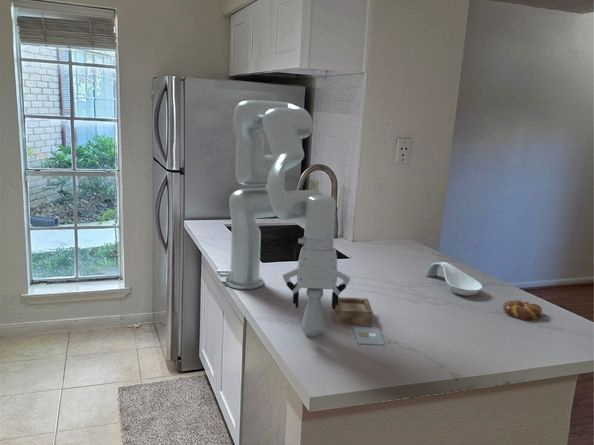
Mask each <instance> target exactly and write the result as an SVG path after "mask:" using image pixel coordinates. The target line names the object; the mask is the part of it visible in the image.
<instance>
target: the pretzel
mask: <svg viewBox="0 0 594 445" xmlns="http://www.w3.org/2000/svg"><path fill="white" fill-rule="evenodd" d="M502 309H503V312H504V313H505V314H506V315H507V316H508V317H512V318H515V317H516V318H517V319H519V320H522V321H532V320H536V319H540V318H542V314H543V308H542V307H541V306H540V305H539V304H537V303H530V302H528V301H522V300H517V299H516V300H507V301H506V302H504V303H503V306H502ZM516 318H515V319H516Z"/></svg>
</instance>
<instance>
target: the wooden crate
mask: <svg viewBox="0 0 594 445" xmlns="http://www.w3.org/2000/svg"><path fill="white" fill-rule="evenodd" d="M332 311H333V315H334V320H335V324H338V325H354V326H355V325H360V326H372V324H373V314H374V312H373V308H372V307H371V304H370V301H369V298H364V297H341V296H338V305H335V309H332Z"/></svg>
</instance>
